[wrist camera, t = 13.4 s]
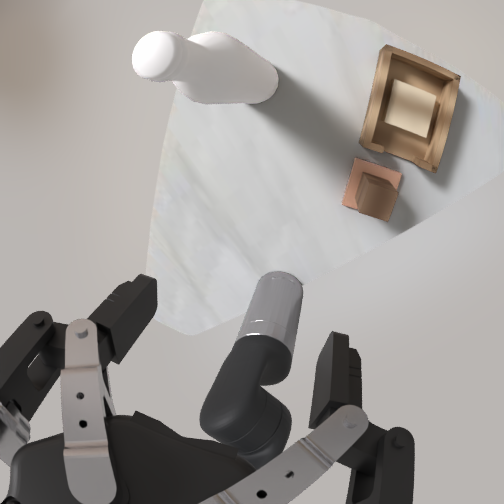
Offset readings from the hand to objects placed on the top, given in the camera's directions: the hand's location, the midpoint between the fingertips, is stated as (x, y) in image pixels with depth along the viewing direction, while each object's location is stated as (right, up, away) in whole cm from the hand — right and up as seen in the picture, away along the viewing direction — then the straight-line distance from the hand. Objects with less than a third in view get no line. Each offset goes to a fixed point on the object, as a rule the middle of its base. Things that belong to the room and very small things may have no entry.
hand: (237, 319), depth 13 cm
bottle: (+1, +30, +28) cm, 41 cm away
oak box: (+24, +25, +24) cm, 43 cm away
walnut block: (+20, +13, +31) cm, 39 cm away
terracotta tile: (+20, +13, +32) cm, 40 cm away
